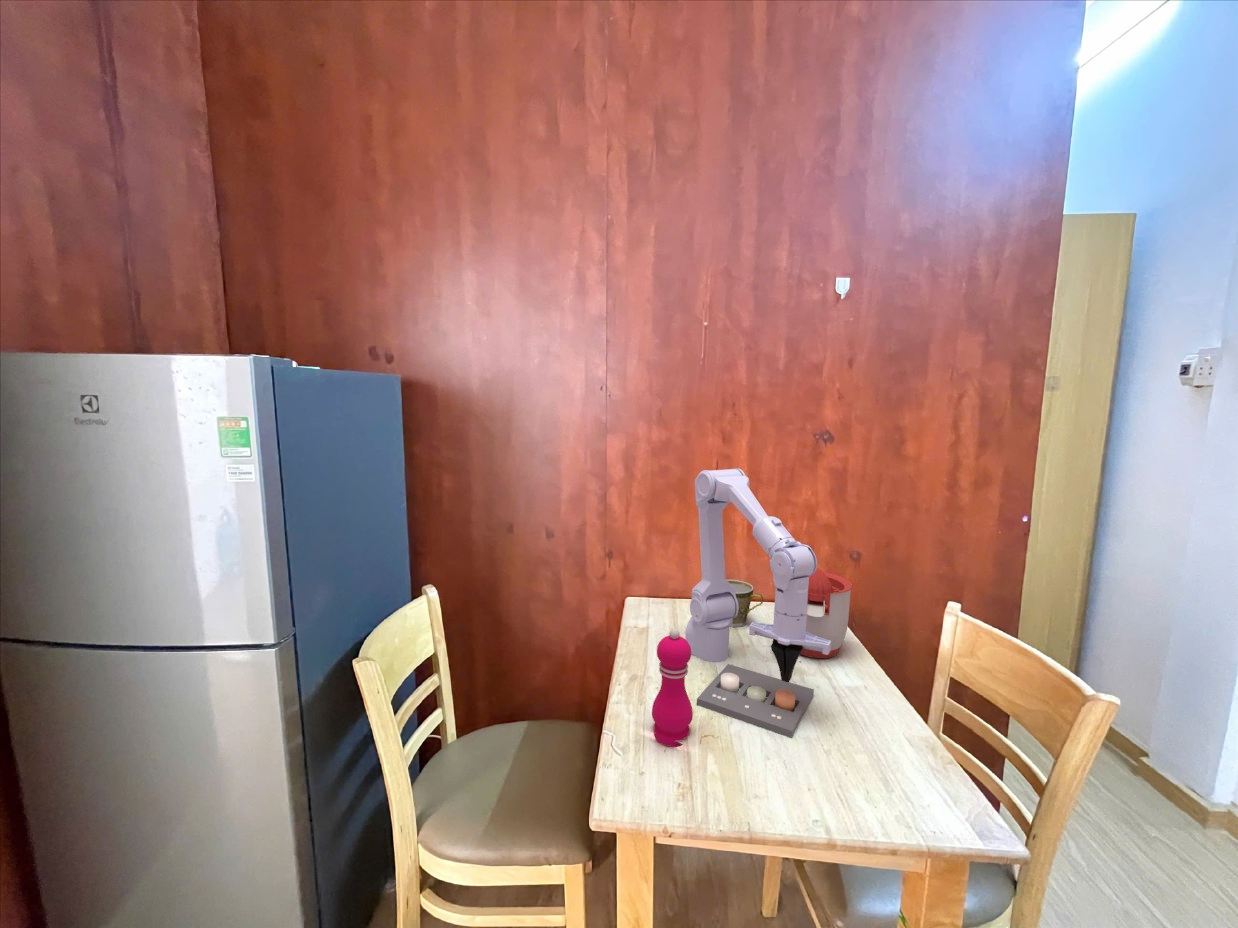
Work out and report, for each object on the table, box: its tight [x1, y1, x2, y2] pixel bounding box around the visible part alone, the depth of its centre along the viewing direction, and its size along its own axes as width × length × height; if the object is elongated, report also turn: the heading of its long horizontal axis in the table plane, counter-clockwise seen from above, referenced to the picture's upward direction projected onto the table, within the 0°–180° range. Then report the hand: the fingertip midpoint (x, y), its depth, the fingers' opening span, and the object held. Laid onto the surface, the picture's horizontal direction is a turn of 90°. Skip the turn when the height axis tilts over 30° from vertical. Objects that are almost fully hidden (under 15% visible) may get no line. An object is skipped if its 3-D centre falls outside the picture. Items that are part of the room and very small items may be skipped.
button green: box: [746, 686, 767, 703], centre depth 106 cm, size 4×4×3 cm
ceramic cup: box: [726, 579, 764, 628], centre depth 143 cm, size 13×10×10 cm
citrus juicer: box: [800, 567, 853, 659], centre depth 128 cm, size 16×17×20 cm
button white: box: [720, 673, 740, 694], centre depth 108 cm, size 4×4×3 cm
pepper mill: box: [651, 628, 694, 748], centre depth 95 cm, size 7×7×20 cm
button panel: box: [696, 663, 815, 739], centre depth 106 cm, size 18×16×3 cm
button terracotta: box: [774, 689, 796, 712], centre depth 103 cm, size 4×4×3 cm
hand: (786, 679), depth 102 cm, fingers closed
